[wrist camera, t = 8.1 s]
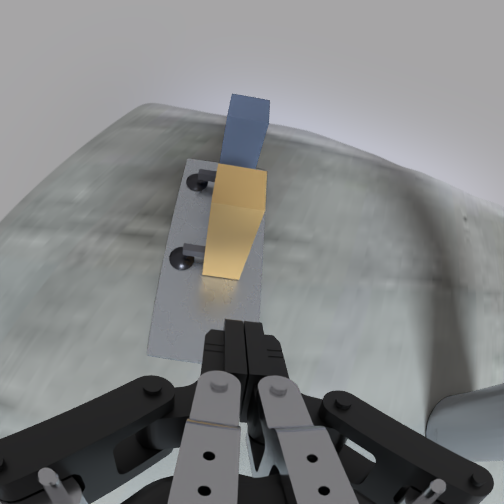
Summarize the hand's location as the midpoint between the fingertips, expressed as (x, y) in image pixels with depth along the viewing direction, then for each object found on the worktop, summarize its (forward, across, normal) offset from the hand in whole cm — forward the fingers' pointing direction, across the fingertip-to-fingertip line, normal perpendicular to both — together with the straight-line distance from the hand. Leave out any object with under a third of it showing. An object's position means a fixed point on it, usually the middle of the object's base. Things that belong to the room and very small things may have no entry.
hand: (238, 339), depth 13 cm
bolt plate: (+25, +2, +4) cm, 25 cm away
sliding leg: (+23, +2, +4) cm, 23 cm away
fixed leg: (+31, +2, -3) cm, 31 cm away
